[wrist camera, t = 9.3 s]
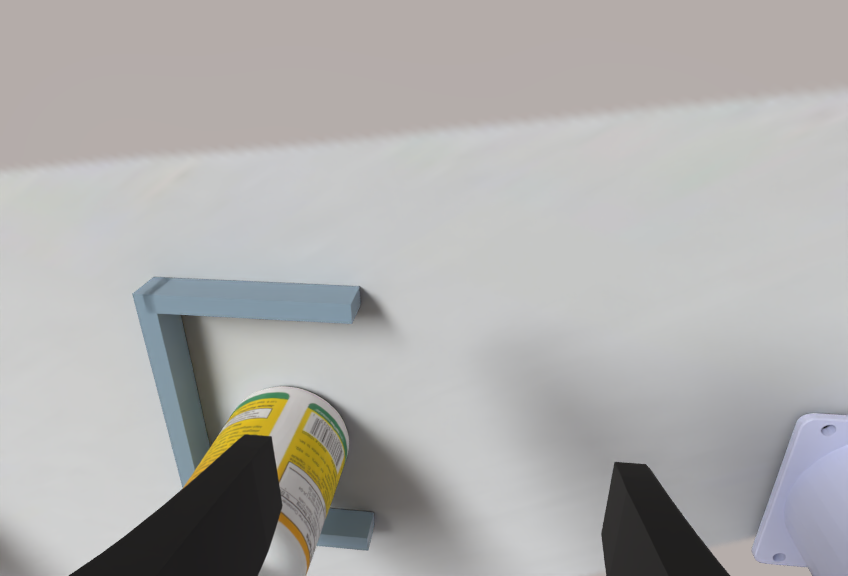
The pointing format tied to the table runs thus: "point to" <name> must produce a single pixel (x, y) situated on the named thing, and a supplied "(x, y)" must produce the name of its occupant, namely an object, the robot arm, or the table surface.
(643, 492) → the robot arm
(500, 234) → the table surface
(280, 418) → the supplement bottle
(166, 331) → the blue-grey u-shaped bracket
